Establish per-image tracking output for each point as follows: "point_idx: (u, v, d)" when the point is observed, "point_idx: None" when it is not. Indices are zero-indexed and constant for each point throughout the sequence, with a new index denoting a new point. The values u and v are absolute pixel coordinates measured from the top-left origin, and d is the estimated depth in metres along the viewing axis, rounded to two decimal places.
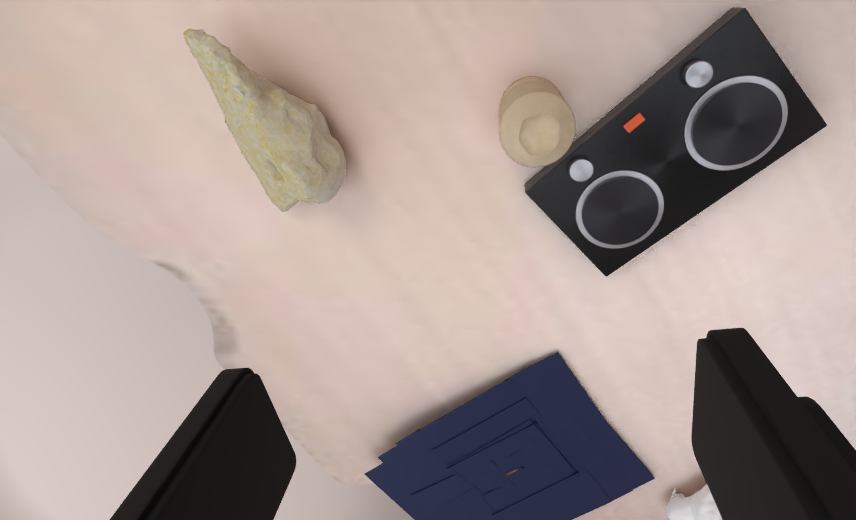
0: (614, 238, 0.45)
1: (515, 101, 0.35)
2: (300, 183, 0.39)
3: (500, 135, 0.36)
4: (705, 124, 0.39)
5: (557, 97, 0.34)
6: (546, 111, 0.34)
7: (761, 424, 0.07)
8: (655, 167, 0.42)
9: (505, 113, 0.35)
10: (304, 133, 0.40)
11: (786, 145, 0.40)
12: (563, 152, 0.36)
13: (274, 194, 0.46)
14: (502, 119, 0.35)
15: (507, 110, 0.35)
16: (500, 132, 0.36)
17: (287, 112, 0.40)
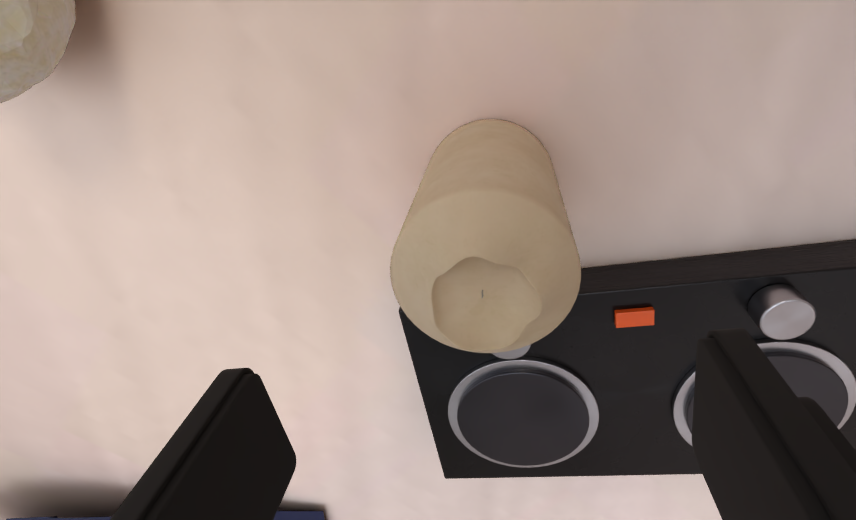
0: (489, 448, 0.26)
1: (477, 192, 0.13)
2: None
3: (400, 240, 0.14)
4: None
5: (571, 244, 0.13)
6: (531, 267, 0.13)
7: (761, 424, 0.07)
8: (614, 392, 0.23)
9: (439, 203, 0.13)
10: None
11: None
12: (507, 350, 0.15)
13: None
14: (424, 210, 0.13)
15: (447, 200, 0.13)
16: (403, 234, 0.14)
17: None
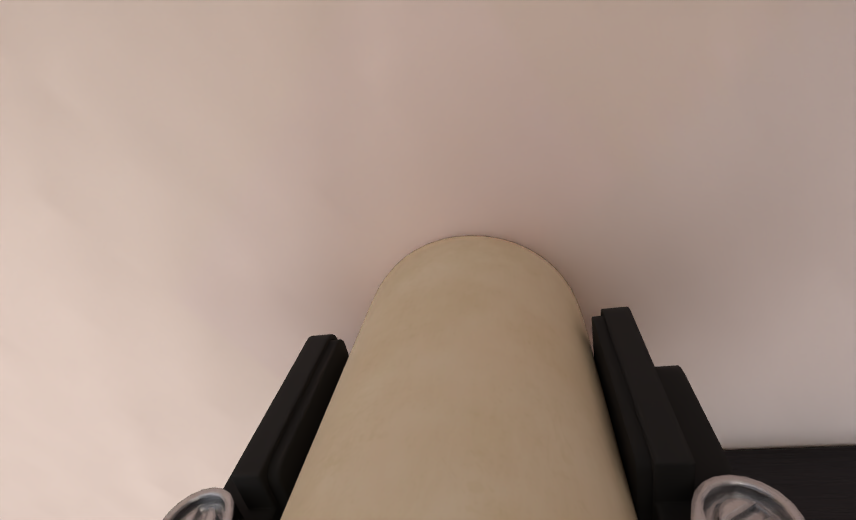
0: None
1: None
2: None
3: None
4: None
5: None
6: None
7: (619, 384, 0.08)
8: None
9: None
10: None
11: None
12: None
13: None
14: None
15: None
16: None
17: None
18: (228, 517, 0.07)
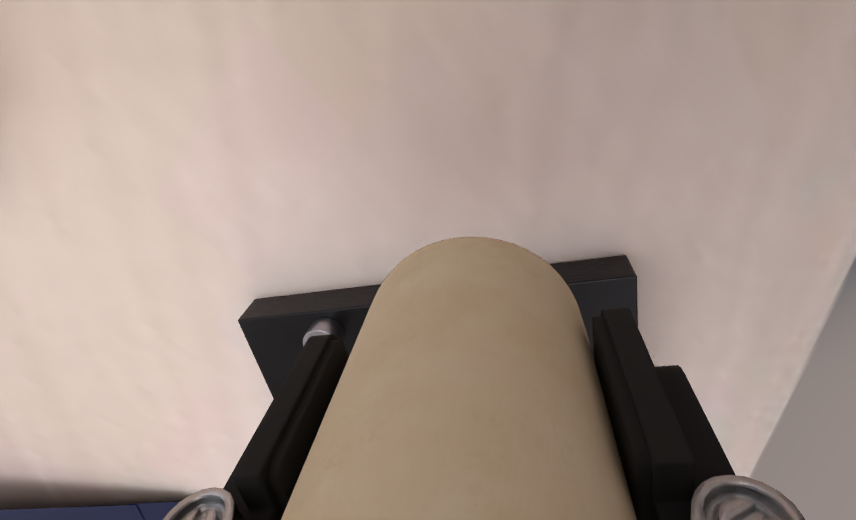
0: None
1: None
2: None
3: None
4: None
5: None
6: None
7: (619, 384, 0.08)
8: None
9: None
10: None
11: None
12: None
13: None
14: None
15: None
16: None
17: None
18: (228, 517, 0.07)
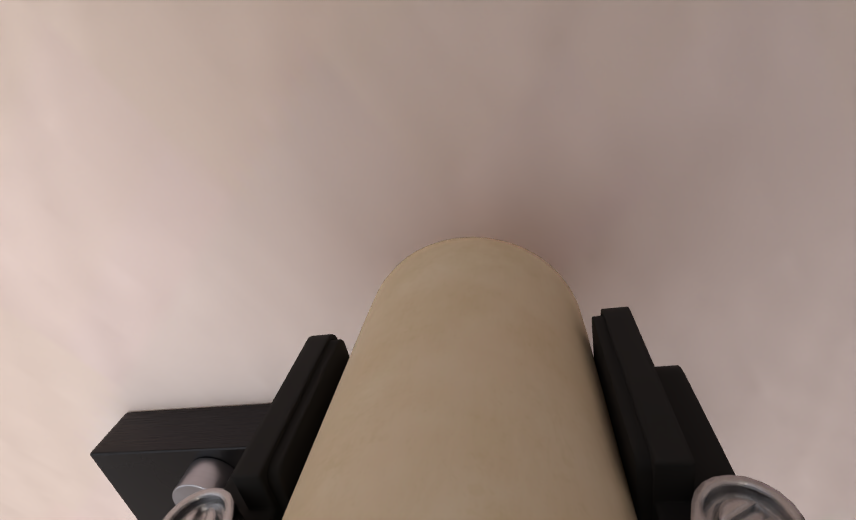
0: None
1: None
2: None
3: None
4: None
5: None
6: None
7: (619, 383, 0.08)
8: None
9: None
10: None
11: None
12: None
13: None
14: None
15: None
16: None
17: None
18: (228, 517, 0.07)
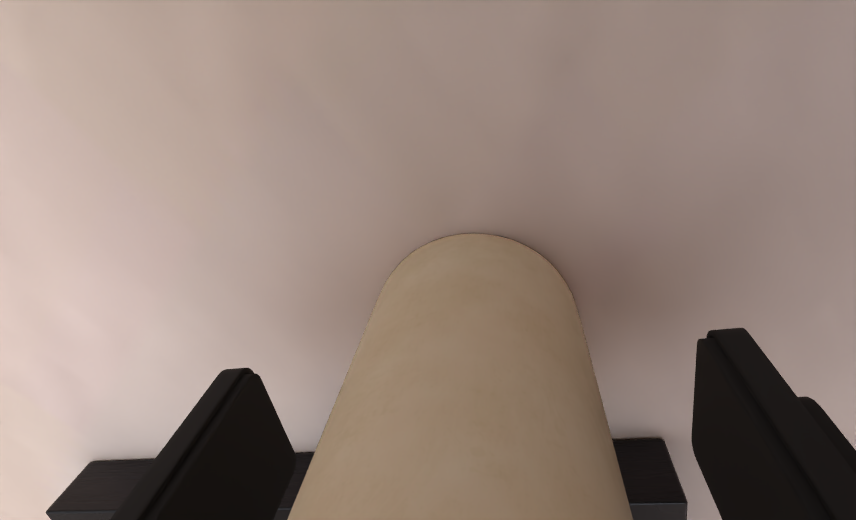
0: None
1: None
2: None
3: None
4: None
5: None
6: None
7: (761, 424, 0.07)
8: None
9: None
10: None
11: None
12: None
13: None
14: None
15: None
16: None
17: None
18: None
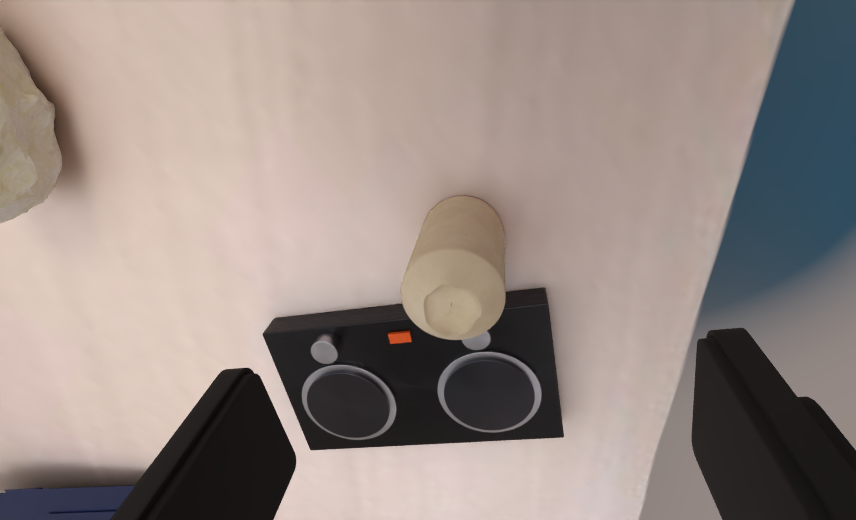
0: (331, 425, 0.39)
1: (447, 250, 0.24)
2: None
3: (406, 275, 0.25)
4: (462, 379, 0.35)
5: (498, 277, 0.24)
6: (475, 290, 0.24)
7: (761, 424, 0.07)
8: (402, 385, 0.37)
9: (427, 255, 0.24)
10: None
11: (523, 433, 0.37)
12: (467, 337, 0.26)
13: None
14: (419, 259, 0.25)
15: (431, 254, 0.24)
16: (408, 272, 0.25)
17: None
18: None
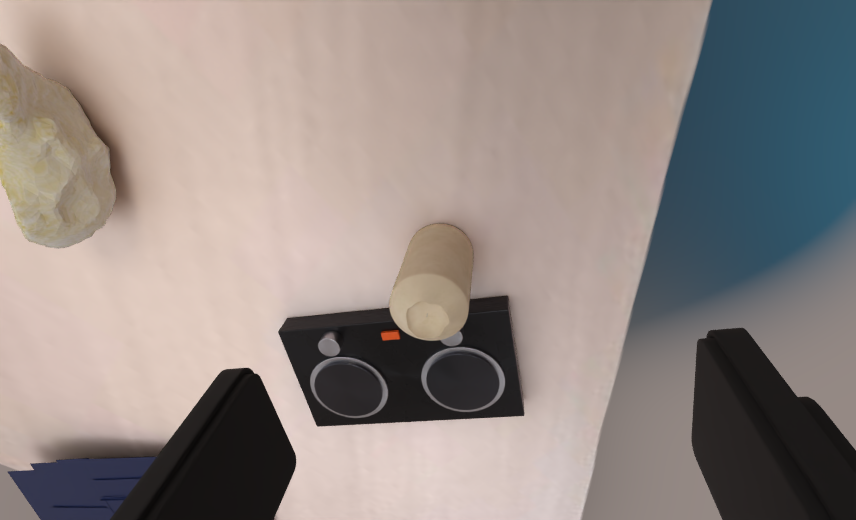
0: (334, 406, 0.47)
1: (424, 274, 0.32)
2: (21, 229, 0.34)
3: (393, 292, 0.33)
4: (441, 369, 0.43)
5: (462, 295, 0.32)
6: (445, 305, 0.32)
7: (761, 424, 0.07)
8: (392, 374, 0.45)
9: (409, 278, 0.32)
10: (59, 178, 0.35)
11: (491, 412, 0.46)
12: (440, 339, 0.34)
13: None
14: (403, 281, 0.32)
15: (412, 277, 0.32)
16: (394, 290, 0.33)
17: (50, 148, 0.34)
18: None
